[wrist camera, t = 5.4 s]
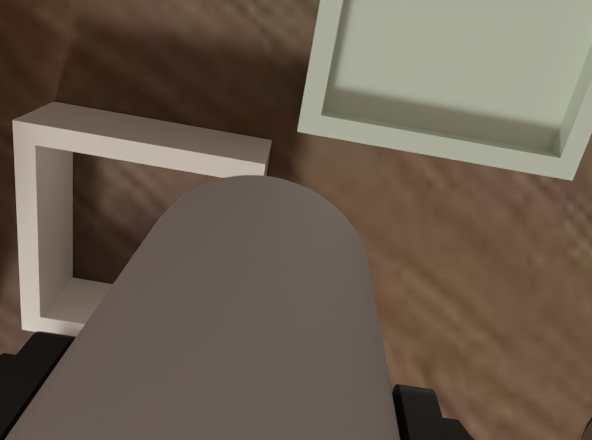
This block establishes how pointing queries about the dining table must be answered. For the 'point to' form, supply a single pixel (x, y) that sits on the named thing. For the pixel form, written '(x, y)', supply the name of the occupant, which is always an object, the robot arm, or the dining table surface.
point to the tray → (456, 79)
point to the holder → (59, 193)
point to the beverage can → (229, 330)
